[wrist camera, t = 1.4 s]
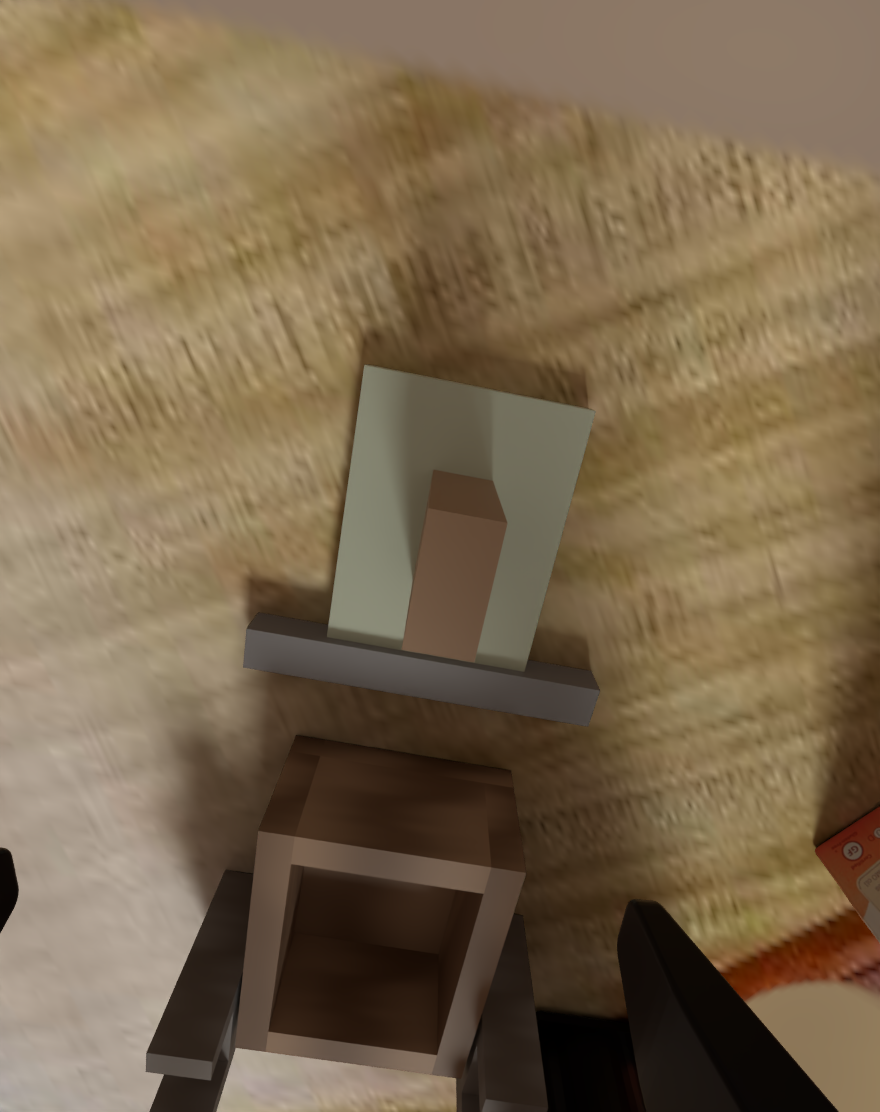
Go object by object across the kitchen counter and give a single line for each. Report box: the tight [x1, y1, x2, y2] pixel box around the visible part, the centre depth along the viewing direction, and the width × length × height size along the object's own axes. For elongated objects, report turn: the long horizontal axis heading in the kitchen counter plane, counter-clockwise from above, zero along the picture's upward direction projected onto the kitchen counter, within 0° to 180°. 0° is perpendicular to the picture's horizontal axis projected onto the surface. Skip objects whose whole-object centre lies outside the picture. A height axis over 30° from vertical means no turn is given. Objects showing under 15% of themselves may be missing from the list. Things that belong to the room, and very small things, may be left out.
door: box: [243, 364, 600, 727], centre depth 18 cm, size 13×11×6 cm
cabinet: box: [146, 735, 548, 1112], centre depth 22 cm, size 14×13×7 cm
